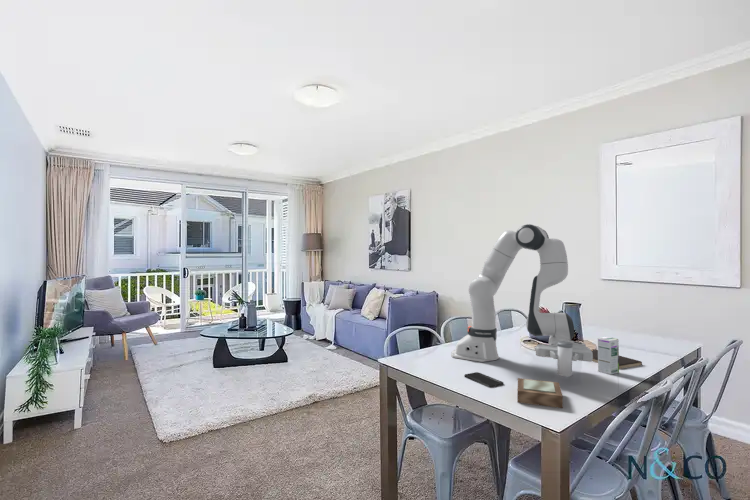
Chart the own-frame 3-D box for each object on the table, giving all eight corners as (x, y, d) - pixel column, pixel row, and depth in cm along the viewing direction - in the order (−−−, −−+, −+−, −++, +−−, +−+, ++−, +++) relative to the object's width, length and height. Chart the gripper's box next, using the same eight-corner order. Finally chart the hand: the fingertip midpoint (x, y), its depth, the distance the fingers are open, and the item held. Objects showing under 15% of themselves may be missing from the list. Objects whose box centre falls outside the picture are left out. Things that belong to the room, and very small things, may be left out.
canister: (557, 375, 148) (558, 343, 148) (556, 371, 153) (557, 340, 153) (572, 377, 146) (573, 345, 146) (571, 373, 151) (571, 342, 151)
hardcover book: (618, 370, 172) (618, 365, 172) (573, 357, 193) (573, 352, 193) (642, 366, 178) (642, 361, 178) (596, 353, 199) (596, 349, 199)
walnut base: (517, 402, 135) (517, 389, 135) (517, 388, 148) (517, 377, 148) (562, 408, 130) (562, 394, 130) (558, 393, 143) (558, 381, 143)
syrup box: (611, 375, 164) (611, 340, 164) (597, 371, 169) (597, 337, 169) (619, 373, 167) (619, 338, 167) (605, 369, 172) (605, 336, 172)
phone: (477, 372, 165) (504, 382, 152) (477, 374, 165) (504, 385, 152) (463, 374, 162) (489, 385, 148) (463, 377, 162) (489, 388, 148)
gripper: (534, 338, 165) (535, 346, 152) (589, 343, 158) (595, 352, 145) (534, 353, 165) (535, 362, 152) (589, 359, 158) (595, 369, 145)
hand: (565, 357), depth 149 cm, fingers closed on canister, 5 cm apart
